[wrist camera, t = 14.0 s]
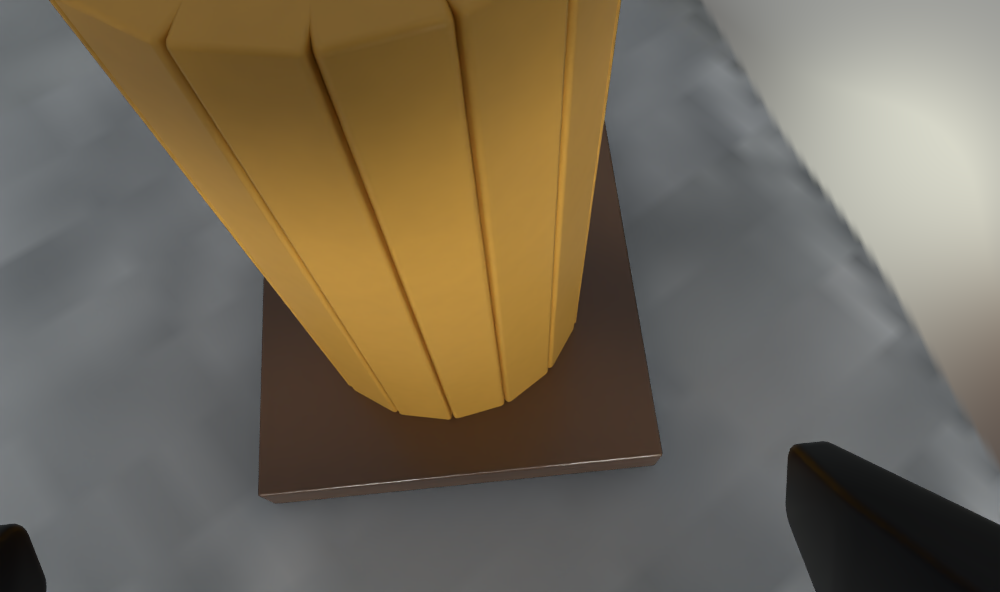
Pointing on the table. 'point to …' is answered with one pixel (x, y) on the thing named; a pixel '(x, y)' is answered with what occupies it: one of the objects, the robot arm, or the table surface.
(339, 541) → the table surface
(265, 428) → the display stand
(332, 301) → the ribbed yellow tumbler
